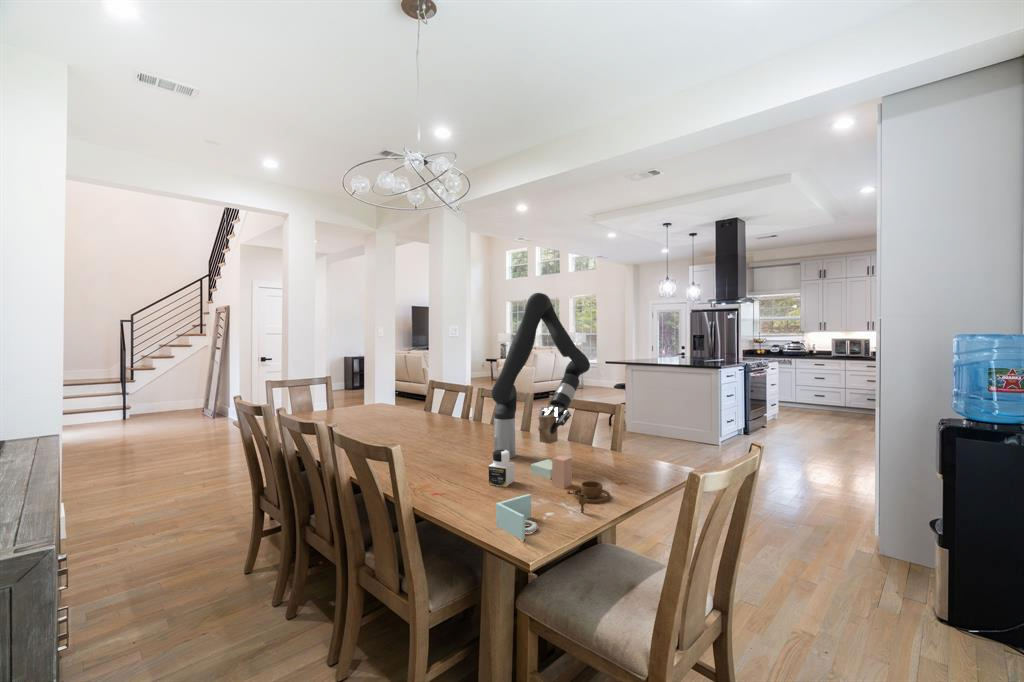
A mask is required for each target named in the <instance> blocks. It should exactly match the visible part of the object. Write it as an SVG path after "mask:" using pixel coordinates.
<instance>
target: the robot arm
mask: <svg viewBox="0 0 1024 682" xmlns="http://www.w3.org/2000/svg"><path fill="white" fill-rule="evenodd" d="M525 305H526V306H525V308H524V312H523V316H522V319H521V322H520V324H519V325H518V328H517V330H516V332H515V334H514V337H513V339H512V342H511V344H510V347H509V350H508V352H507V354H506V358H505V360H504V362H503V366H502V369H501V371H500V373H499V375H498V377H497V379H496V381H495V383H494V384H493V387H492V389H491V397H492V400H493V401H494V402H495V403H496V407H495V410H494V413H493V420H494V423H493V424H494V429H493V430H494V435H493V436H494V437H493V438H494V439H493V443H494V444H493V446H494V447H493V449H494V451H496V450H507V451H509V459H513V457H514V458H515V457H516V454H517V453H516V451H517V450H516V412H517V396H518V395H517V388H516V386H515V382H516V379H517V377H518V375H519V374H520V373H521V371H522V370H523V368H524V367H525V365H526V363H527V362H528V361H529V357H530V355H531V352H532V351H533V348H534V344H535V340H536V334H537V329H538V327H539V324H540V322H541V321H543V323H544V324H545V327H546V328H547V330H548V332H549V335H550V337H551V339H552V341H553V344H554V345H555V347H556V348H557V351H558V352H559V353H560V354H561V356H562V357H564V358H569V359H570V360H571V361H569V363H568V364H567V366H565V370H564V374H563V377H562V379H561V381H560V383H559V384H558V387H557V388H556V389H555V391H554V394H553V395H552V397H551V399H550V402H549V405H548V406H547V407H546V408H544V407H543V406H541V408H540V410H539V413H538V417H537V419H538V420H539V416H542V415H554V416H556V417H555V418H556V419H555V421H554V423H553V425H552V427H551V429H550V432H551V434H554V433H555V432H556V430H557V431H558V427H560V426H562V427H563V426H564V425H566V423H567V421H568V420H569V419H570V417H571V416H572V414H571V412H570V411H569V410H568V409H569V407H570V405H571V403H572V401H573V399H574V396H575V394H576V391H577V389H578V387H579V385H580V379H579V378H580V376H581V375H583V374H585V373H586V372H588V371H589V370H590V367H591V364H590V360H589V358H588V357H587V356H586V355H585V354H584V352H583V351H582V350H580V349H579V348H578V347H577V346H576V344H575V343H574V342H573V339H572V338H571V336H570V335H569V334H568V331H566V329H565V327H564V325H563V324H562V323H561V321H560V318H559V316H558V315H557V313H556V312H555V311H556V310H555V309H554V307H553V304H552V301H551V298H550V297H549V296H548V295H547V294H545V293H541V292H535V293H532V294H531V295H530V296H529V298H528V299H527V302H526V304H525ZM537 430H538V431H539V426H538V427H537ZM494 451H493V452H494Z"/></svg>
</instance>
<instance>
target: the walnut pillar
mask: <svg viewBox="0 0 1024 682" xmlns="http://www.w3.org/2000/svg"><path fill="white" fill-rule="evenodd" d="M538 417H539V419H538V423H539V424H538V427H539V430H538V432H539V442H540V443H545V444H549V445H550V444H553V443H557V442H558V439H559V438H558V436H559V435H558V429H557V430H556V432H555V433H554V434H551V432H550V429H551V427H552V425H553V423H554V421H555V419H556V418H555V417H556V416H554V415H542V416H539V415H538Z"/></svg>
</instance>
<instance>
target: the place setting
mask: <svg viewBox="0 0 1024 682" xmlns="http://www.w3.org/2000/svg"><path fill="white" fill-rule="evenodd" d="M580 485H581V486H580V488H578V489H575V490H572V491H573V493H572V494H573V496H574V498H575V499H576V500H577V501H578V505H580V511H581V512H580V513H585V508H584V506H585V505H586V504H601V503H600V502H602V503H606V502H608V501H609V500H608V499H610V498H611V493H610V492H609V491H607V490H606V489H603V484H602V483H601V482H599V481H595V480H587V481H583V482H582V483H581V484H580ZM570 491H571V490H568V491H567V492H566V493H567V494H569V493H570ZM581 492H582V493H581ZM578 493H580V494H578ZM602 493H604V494H606V495H607V496H608V497H607V496H606V497H604V498H601V499H600V498H599V497H601V496H602V495H604V494H602ZM577 494H578V495H577ZM576 495H577V496H576ZM595 498H596V499H595ZM605 501H606V502H605ZM586 502H587V503H586Z"/></svg>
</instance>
